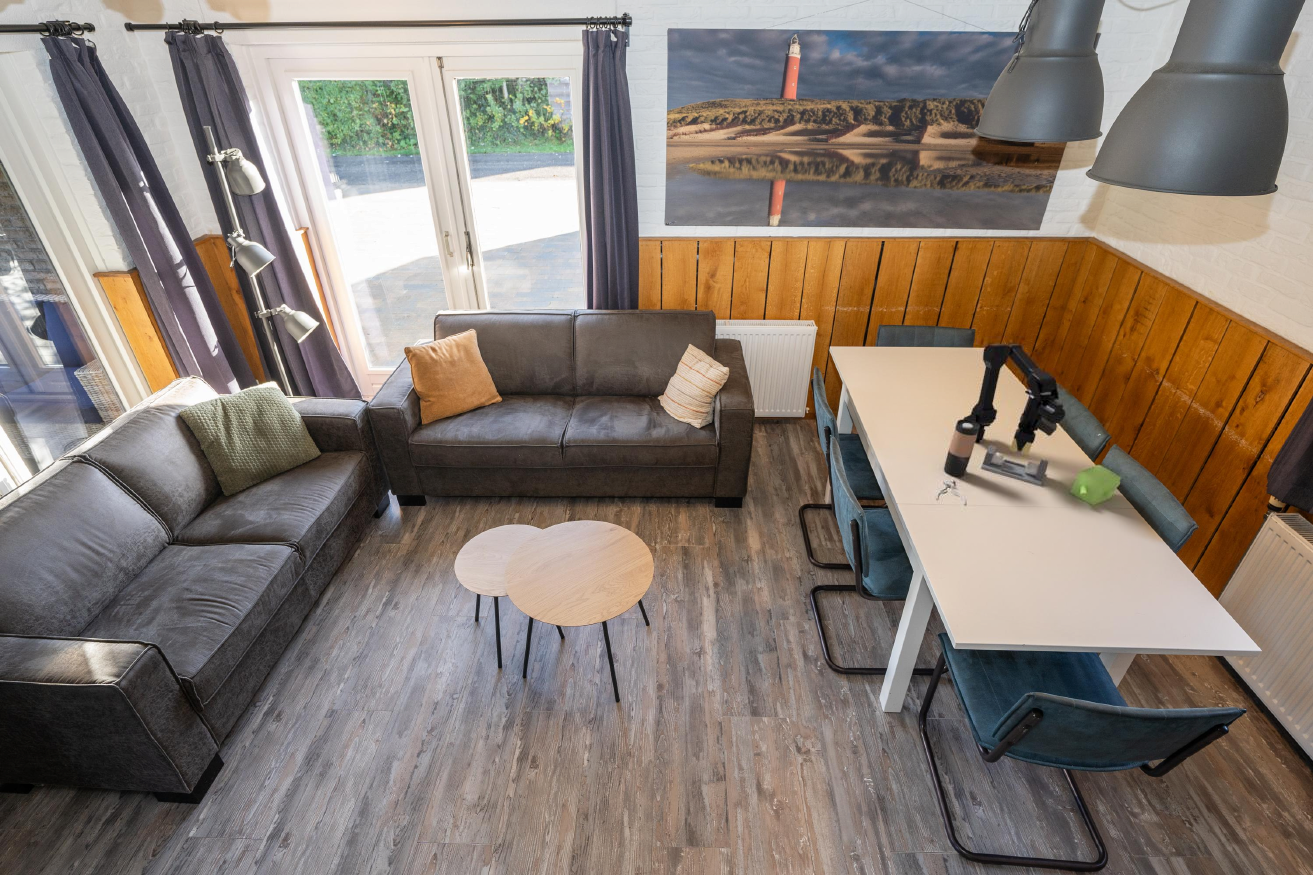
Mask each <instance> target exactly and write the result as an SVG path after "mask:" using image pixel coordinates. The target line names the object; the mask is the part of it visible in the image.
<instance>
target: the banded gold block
mask: <svg viewBox="0 0 1313 875" xmlns="http://www.w3.org/2000/svg"><path fill="white" fill-rule="evenodd" d="M1032 446H1033V443H1028V442H1027V443H1026V445H1025V446H1024V447H1023V449H1022V450H1021V451H1018V449H1017V443H1016V439H1015V438H1014V437H1013V440H1012V442H1011V444H1010V448H1009V451H1011V452H1015V453H1018V454H1022V455H1025V456H1029V454H1030V450H1031V447H1032Z"/></svg>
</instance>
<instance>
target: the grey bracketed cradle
mask: <svg viewBox="0 0 1313 875" xmlns="http://www.w3.org/2000/svg"><path fill="white" fill-rule="evenodd" d="M996 449H997V446H995V445H992V444H989V445H988V448H987V449H986V453H985V454H984V458H983V462H982V465H981V467H980V469H982V470H984V471H988V472H991V473H995V474H998V475H1001V476H1004V477H1009V478H1012V479H1015V480H1018V481H1023V482H1025V483H1029V484H1032V485H1036V486H1039V487H1041V486H1042V483H1043V479H1044V477H1045V475H1046V472H1047V470H1048V467H1049V466H1048V465H1049V460H1045V459H1040V461H1039V463H1036V462H1032V461H1028V462H1027V464H1025V463H1022V462H1021V463H1020V462H1017V461H1014V460H1010V459H1005V456H1006V454H1003V453H1000V452H997V451H996Z"/></svg>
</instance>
